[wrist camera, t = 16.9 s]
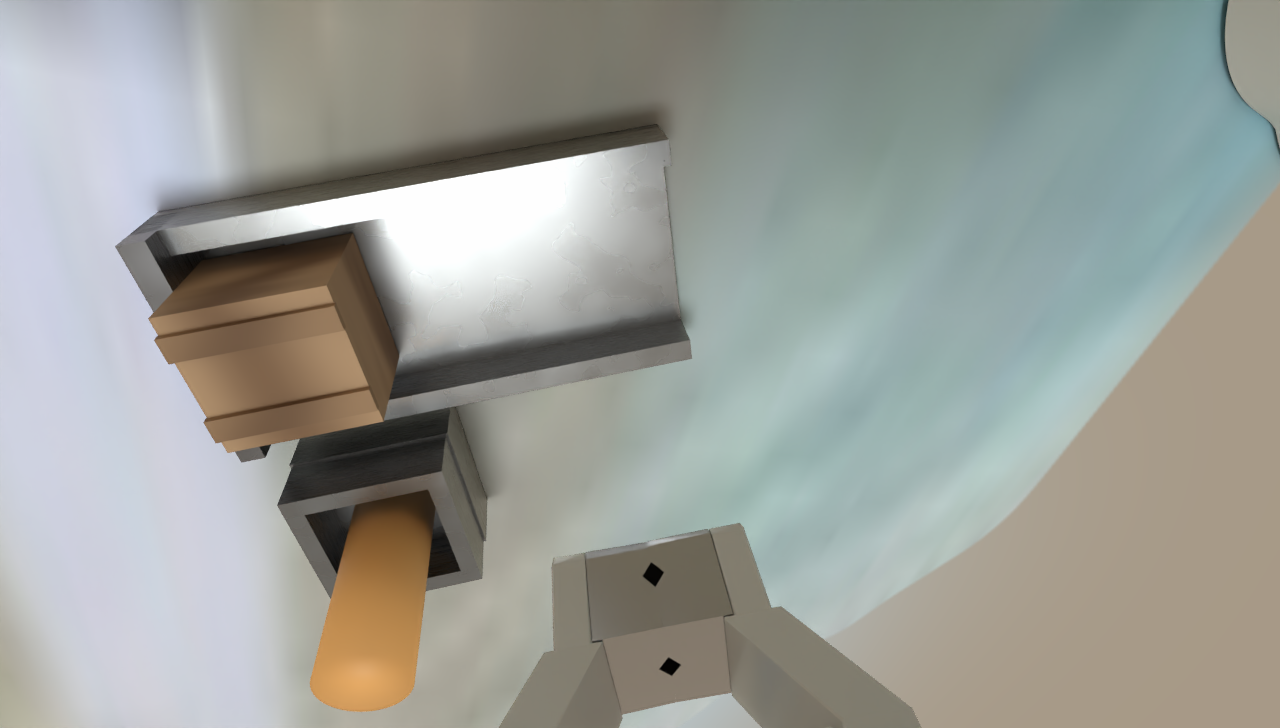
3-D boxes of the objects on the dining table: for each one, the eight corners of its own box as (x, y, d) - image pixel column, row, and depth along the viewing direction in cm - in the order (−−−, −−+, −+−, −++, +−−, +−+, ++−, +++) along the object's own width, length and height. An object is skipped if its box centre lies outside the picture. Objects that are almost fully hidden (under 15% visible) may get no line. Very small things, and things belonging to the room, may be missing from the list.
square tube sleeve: (451, 395, 34) (443, 468, 29) (487, 500, 37) (485, 579, 33) (305, 424, 33) (273, 504, 29) (356, 527, 37) (335, 612, 32)
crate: (354, 232, 28) (326, 288, 24) (400, 356, 31) (383, 425, 27) (200, 260, 28) (143, 322, 23) (264, 382, 31) (224, 457, 27)
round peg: (415, 468, 32) (387, 642, 24) (447, 520, 34) (430, 694, 26) (341, 491, 32) (289, 671, 24) (377, 541, 34) (340, 721, 26)
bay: (656, 124, 28) (674, 146, 26) (680, 332, 34) (697, 370, 31) (157, 212, 27) (115, 246, 24) (265, 414, 33) (241, 462, 30)
